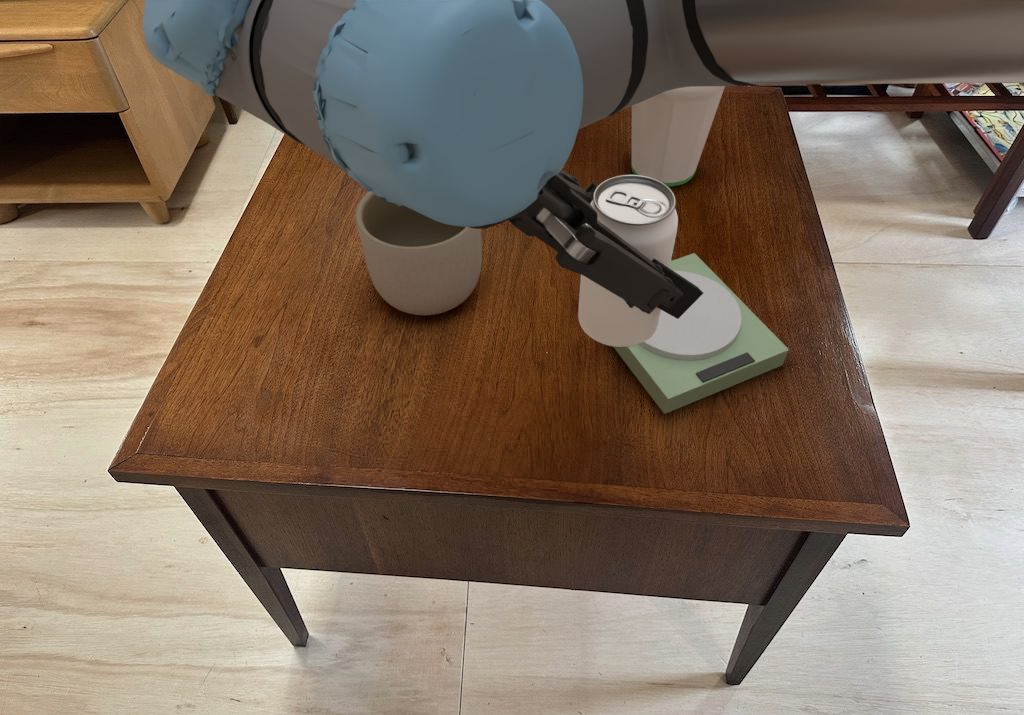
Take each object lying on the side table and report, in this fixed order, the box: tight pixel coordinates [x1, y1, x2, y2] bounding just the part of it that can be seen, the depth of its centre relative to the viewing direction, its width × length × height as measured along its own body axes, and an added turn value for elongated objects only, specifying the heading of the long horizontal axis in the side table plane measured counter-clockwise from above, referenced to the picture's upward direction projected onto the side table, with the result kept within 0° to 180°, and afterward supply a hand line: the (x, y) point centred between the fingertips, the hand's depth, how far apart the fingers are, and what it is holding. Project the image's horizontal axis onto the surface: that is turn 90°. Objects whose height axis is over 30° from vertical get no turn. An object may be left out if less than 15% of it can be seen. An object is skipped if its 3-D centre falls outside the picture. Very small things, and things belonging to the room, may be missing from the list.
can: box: [577, 174, 679, 348], centre depth 53 cm, size 6×6×12 cm
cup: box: [630, 86, 726, 188], centre depth 87 cm, size 12×12×15 cm
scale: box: [613, 252, 790, 415], centre depth 73 cm, size 16×14×3 cm
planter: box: [354, 191, 483, 316], centre depth 75 cm, size 12×12×11 cm
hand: (661, 274), depth 55 cm, fingers closed on can, 6 cm apart
